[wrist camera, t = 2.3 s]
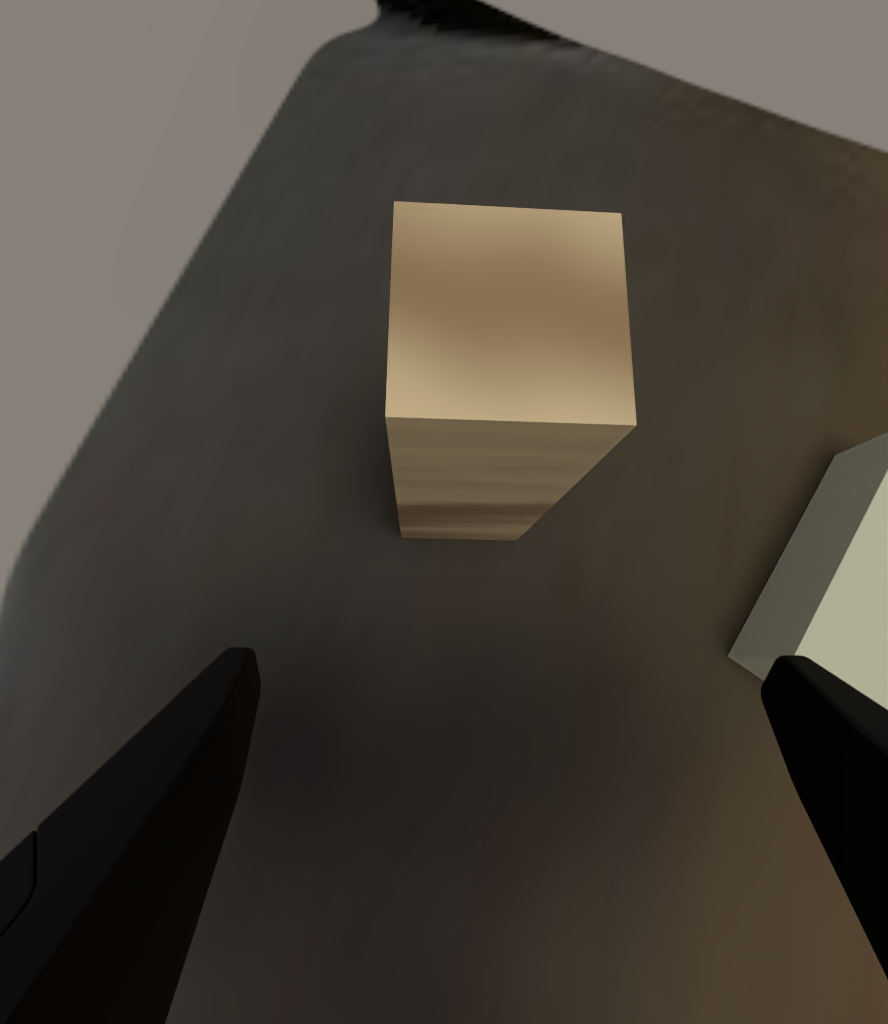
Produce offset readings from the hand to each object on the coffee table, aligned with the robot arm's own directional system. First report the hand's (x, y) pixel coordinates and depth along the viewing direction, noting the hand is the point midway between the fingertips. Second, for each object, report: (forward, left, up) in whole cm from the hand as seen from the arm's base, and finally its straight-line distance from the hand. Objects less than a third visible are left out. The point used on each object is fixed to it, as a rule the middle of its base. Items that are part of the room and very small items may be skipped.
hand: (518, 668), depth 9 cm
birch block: (+3, +7, -13) cm, 15 cm away
